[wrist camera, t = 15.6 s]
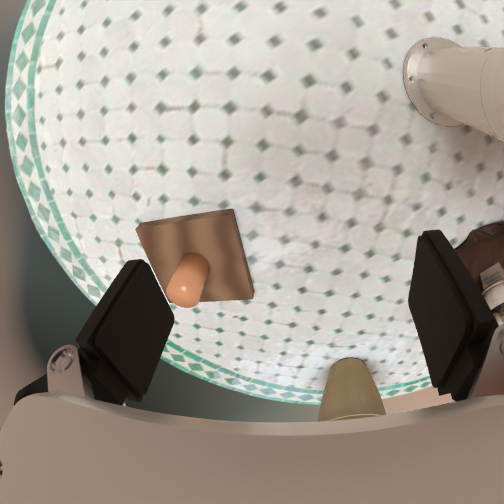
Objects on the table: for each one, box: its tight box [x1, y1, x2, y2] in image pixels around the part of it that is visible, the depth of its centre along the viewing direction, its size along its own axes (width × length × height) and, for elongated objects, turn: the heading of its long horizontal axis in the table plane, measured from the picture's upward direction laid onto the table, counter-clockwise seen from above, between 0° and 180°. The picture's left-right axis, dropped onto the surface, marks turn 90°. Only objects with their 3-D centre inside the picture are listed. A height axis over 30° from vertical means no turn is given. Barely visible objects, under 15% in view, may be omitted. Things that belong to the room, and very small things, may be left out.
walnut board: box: [135, 209, 254, 303], centre depth 48 cm, size 16×16×2 cm
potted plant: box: [455, 225, 504, 326], centre depth 36 cm, size 20×19×25 cm
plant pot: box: [317, 358, 386, 422], centre depth 55 cm, size 15×15×16 cm
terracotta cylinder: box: [166, 253, 210, 308], centre depth 44 cm, size 5×5×7 cm
